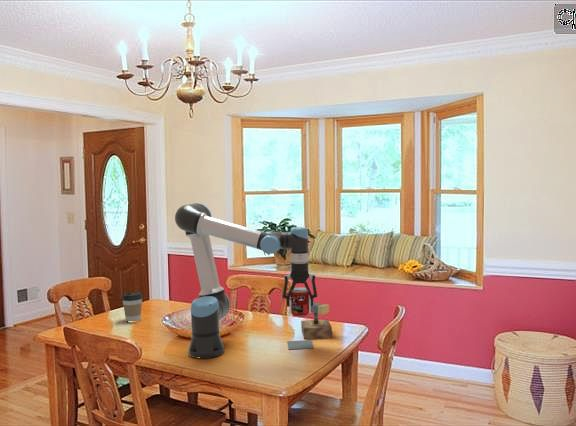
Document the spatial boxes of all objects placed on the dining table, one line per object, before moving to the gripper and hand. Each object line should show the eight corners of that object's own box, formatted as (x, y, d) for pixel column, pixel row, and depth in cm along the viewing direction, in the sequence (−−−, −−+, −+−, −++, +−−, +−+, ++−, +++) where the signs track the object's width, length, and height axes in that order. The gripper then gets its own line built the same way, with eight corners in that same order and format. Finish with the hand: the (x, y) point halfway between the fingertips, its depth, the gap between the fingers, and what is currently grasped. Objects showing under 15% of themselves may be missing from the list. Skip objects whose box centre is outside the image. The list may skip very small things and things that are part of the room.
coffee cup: (128, 318, 279) (126, 291, 278) (147, 318, 277) (146, 291, 276) (118, 323, 267) (117, 296, 267) (138, 324, 266) (137, 296, 265)
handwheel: (303, 321, 241) (302, 303, 241) (310, 319, 245) (309, 301, 244) (322, 326, 233) (321, 307, 232) (329, 323, 236) (329, 304, 236)
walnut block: (304, 339, 232) (303, 327, 232) (301, 330, 245) (301, 320, 245) (331, 337, 233) (331, 326, 233) (328, 329, 246) (327, 318, 246)
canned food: (287, 314, 223) (287, 289, 222) (299, 310, 229) (299, 286, 228) (300, 317, 217) (300, 292, 217) (312, 313, 223) (312, 289, 223)
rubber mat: (288, 349, 218) (288, 349, 218) (287, 341, 229) (287, 341, 229) (313, 348, 219) (313, 347, 218) (311, 340, 229) (311, 339, 229)
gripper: (276, 264, 217) (276, 316, 219) (324, 263, 218) (324, 314, 220) (275, 261, 225) (276, 311, 226) (321, 260, 226) (322, 310, 227)
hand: (299, 313), depth 223 cm, fingers closed on canned food, 8 cm apart
